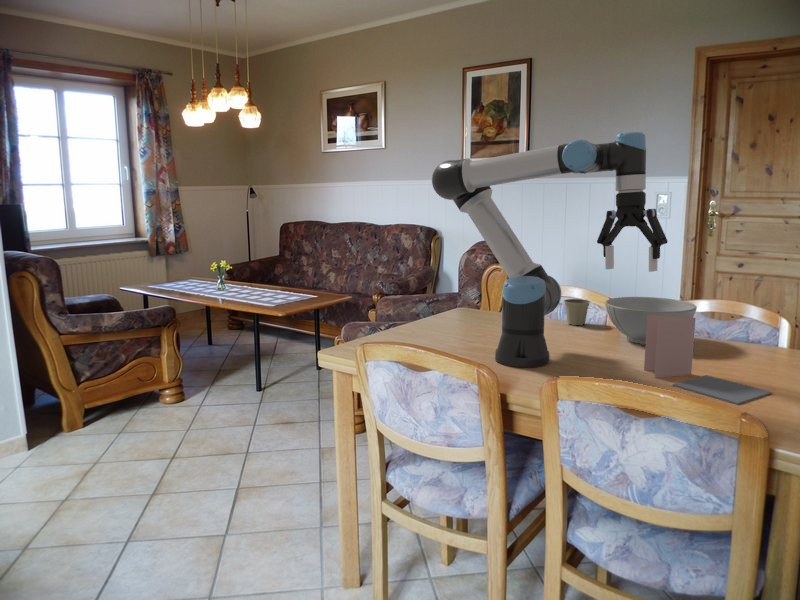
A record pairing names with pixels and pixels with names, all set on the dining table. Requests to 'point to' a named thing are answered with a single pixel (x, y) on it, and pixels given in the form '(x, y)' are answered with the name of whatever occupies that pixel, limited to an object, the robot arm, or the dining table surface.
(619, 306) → the decorative bowl
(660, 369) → the greeting card
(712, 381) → the mat
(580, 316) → the flower pot
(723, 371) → the dining table surface
